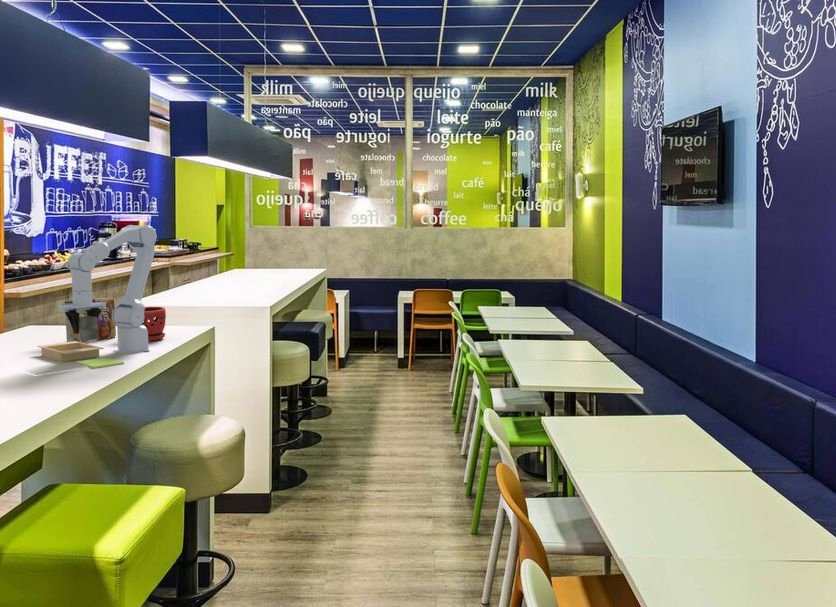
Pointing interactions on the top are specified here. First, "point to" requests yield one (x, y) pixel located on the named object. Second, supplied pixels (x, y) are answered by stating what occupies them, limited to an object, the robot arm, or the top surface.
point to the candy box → (106, 319)
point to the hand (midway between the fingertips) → (83, 332)
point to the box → (86, 328)
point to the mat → (99, 362)
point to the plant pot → (154, 322)
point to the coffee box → (69, 339)
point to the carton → (69, 351)
